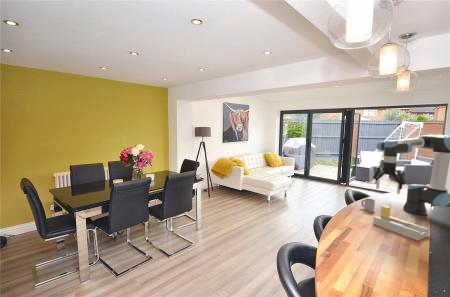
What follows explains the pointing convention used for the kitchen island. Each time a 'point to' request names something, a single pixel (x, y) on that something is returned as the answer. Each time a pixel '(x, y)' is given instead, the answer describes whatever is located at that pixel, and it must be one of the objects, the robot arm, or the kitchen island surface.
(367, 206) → the cup
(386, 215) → the yellow juice carton
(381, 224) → the rail
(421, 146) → the robot arm
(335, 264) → the kitchen island surface
